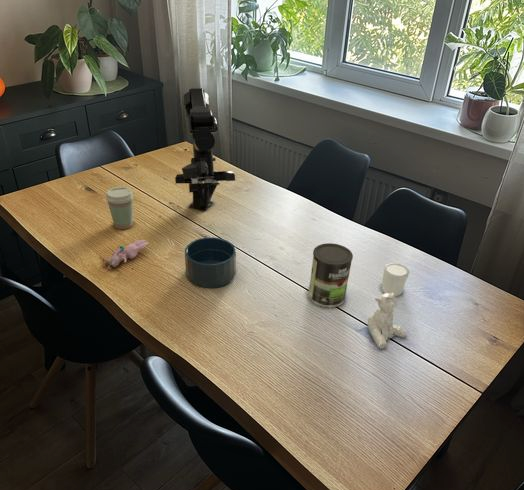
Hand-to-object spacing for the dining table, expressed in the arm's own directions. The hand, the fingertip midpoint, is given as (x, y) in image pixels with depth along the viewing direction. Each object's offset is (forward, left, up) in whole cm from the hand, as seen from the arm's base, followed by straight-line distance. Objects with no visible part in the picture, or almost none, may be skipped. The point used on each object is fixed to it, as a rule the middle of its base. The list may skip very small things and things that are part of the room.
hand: (206, 206), depth 153 cm
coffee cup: (+5, -28, -12) cm, 31 cm away
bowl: (+17, +10, -12) cm, 23 cm away
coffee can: (+12, +44, -12) cm, 47 cm away
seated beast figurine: (+21, +61, -12) cm, 65 cm away
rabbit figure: (+21, -15, -12) cm, 29 cm away
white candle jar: (+1, +60, -12) cm, 61 cm away
